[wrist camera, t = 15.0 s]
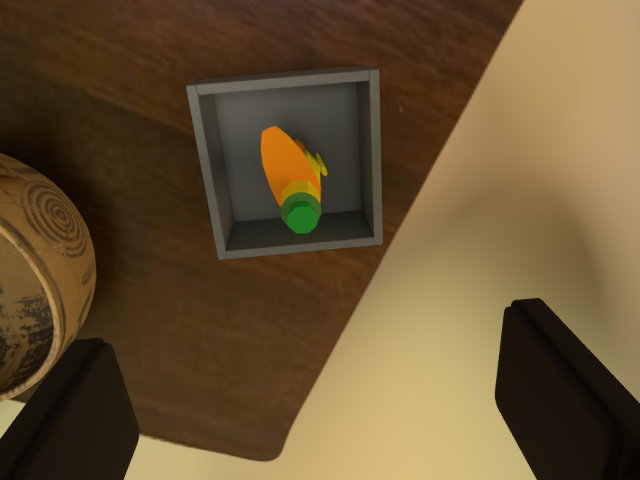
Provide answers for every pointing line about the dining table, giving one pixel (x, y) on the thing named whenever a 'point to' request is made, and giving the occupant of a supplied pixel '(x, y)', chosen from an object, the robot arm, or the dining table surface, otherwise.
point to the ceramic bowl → (39, 275)
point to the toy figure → (293, 178)
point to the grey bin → (297, 122)
